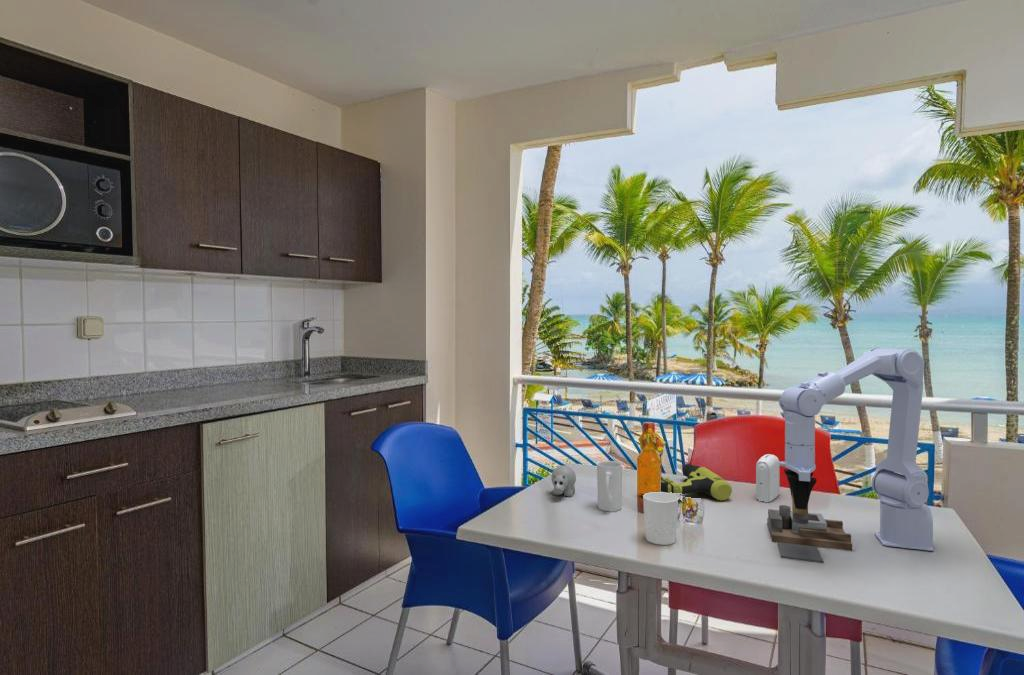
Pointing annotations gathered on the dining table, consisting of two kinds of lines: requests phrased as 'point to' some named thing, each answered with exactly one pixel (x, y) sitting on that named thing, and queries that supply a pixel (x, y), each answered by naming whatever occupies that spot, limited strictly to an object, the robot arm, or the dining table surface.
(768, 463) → the photo printer
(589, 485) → the dining table surface
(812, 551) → the pad
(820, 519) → the grey square frame
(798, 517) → the wooden square peg
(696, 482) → the cordless drill
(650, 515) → the white cup
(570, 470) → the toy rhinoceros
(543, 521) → the dining table surface
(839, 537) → the chuck base
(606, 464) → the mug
